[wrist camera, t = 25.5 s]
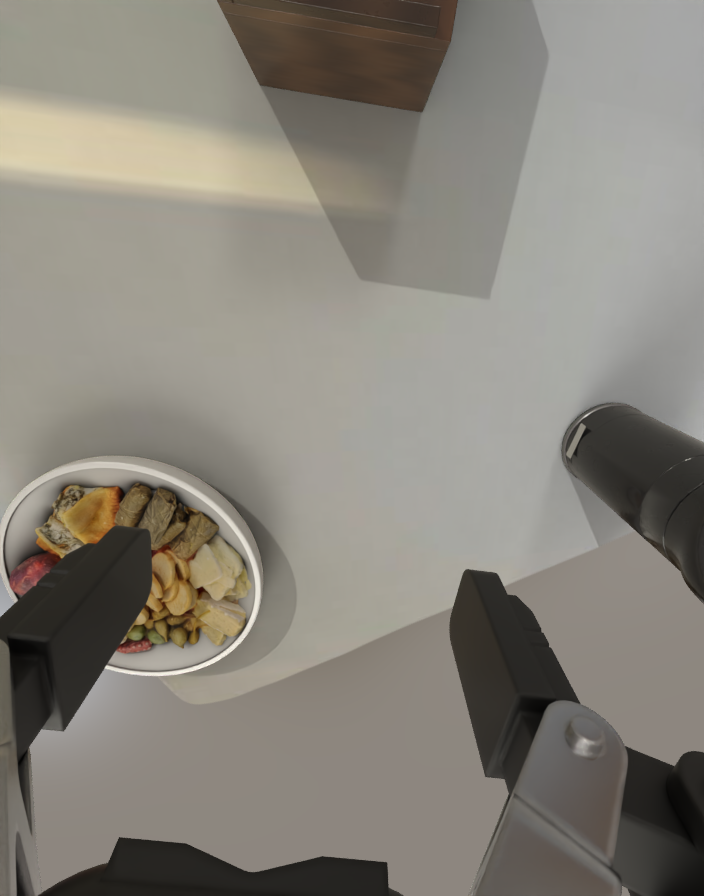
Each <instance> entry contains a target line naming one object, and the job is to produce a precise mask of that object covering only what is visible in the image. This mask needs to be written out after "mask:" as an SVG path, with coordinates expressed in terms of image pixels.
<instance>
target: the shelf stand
mask: <svg viewBox="0 0 704 896" xmlns="http://www.w3.org/2000/svg"><path fill="white" fill-rule="evenodd" d="M217 2H218V4H219V6H220V8H221V9H222V11H223V13H224V15H225V17H226V19H227V21H228V23H229V25H230V27H231V29H232V31H233V33H234V35H235V37H236V39H237V41H238V43H239V45H240V47H241V49H242V51H243V53H244V55H245V57H246V59H247V61H248V63H249V65H250V67H251V69H252V71H253V73H254V75H255V77H256V79H257V81H258V82H259V84H260V85H262V86H268V87H274V88H280V89H286V90H292V91H298V92H304V93H310V94H316V95H322V96H328V97H334V98H340V99H346V100H352V101H358V102H364V103H369V104H375V105H381V106H387V107H393V108H399V109H405V110H411V111H417V112H423V109H424V107H425V104H426V102H427V99H428V97H429V94H430V92H431V89H432V87H433V84H434V82H435V79H436V77H437V74H438V72H439V69H440V67H441V64H442V62H443V59H444V57H445V54H446V52H447V49H448V47H449V44H450V42H451V36H452V31H453V25H454V19H455V14H456V8H457V2H458V0H217Z"/></svg>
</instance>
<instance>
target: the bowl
mask: <svg viewBox="0 0 704 896" xmlns="http://www.w3.org/2000/svg"><path fill="white" fill-rule="evenodd" d="M116 525H119V526H127V527H136V528H144V529H148V530H149V531H150V534H151V552H152V577H153V580H152V588H151V592H150V595H149V598H148V600H147V603H146V604H145V606H144V608H143V609H142V611H141V612H140V614H139V616H138V617H137V619H136V620H135V622H134V623H133V625H132V626H131V628H130V629H129V631H128V633H127V634H126V636H125V637H124V639H123V640H122V642H121V643H120V645H119V647H118V648H117V650H116V651H115V653H114V654H113V656H112V657H111V659H110V661H109V662H108V664H107V665H106V667H105V668H106V669H110V670H113V671H117V672H122V673H127V674H133V675H143V676H167V675H176V674H182V673H187V672H191V671H195V670H198V669H201V668H203V667H206V666H208V665H211V664H213V663H215V662H217V661H218V660H220V659H222V658H223V657H225V656H226V655H228V654H229V653H230V652H232V651H233V650H234V649H235V648H236V647H237V646H238V645H239V644H240V643H241V642H242V641H243V640H244V639H245V637H246V636H247V634H248V633H249V631H250V630H251V628H252V626H253V624H254V622H255V620H256V617H257V615H258V611H259V608H260V604H261V600H262V595H263V583H264V578H263V566H262V561H261V556H260V553H259V549H258V546H257V544H256V541H255V539H254V537H253V535H252V533H251V531H250V529H249V527H248V526H247V524H246V522H245V521H244V519H243V518H242V517H241V515H240V514H239V513H238V511H237V510H236V509H235V508H234V507H233V506H232V505H231V503H230V502H229V501H228V500H227V499H226V498H224V497H223V496H222V495H221V494H220V493H219V492H218V491H216V490H215V489H214V488H213V487H211V486H210V485H208V484H207V483H205V482H204V481H202V480H201V479H199V478H197V477H196V476H194V475H192V474H190V473H188V472H186V471H184V470H182V469H179V468H177V467H174V466H172V465H169V464H166V463H163V462H159V461H156V460H151V459H147V458H141V457H133V456H98V457H91V458H86V459H81V460H77V461H74V462H70V463H67V464H65V465H62V466H60V467H57V468H55V469H53V470H51V471H49V472H47V473H45V474H44V475H42V476H40V477H39V478H37V479H36V480H34V481H32V482H31V483H30V484H29V485H27V486H26V487H25V488H24V489H23V490H22V491H20V493H19V494H18V495H17V496H16V497H15V498H14V499H13V501H12V502H11V503H10V505H9V507H8V508H7V510H6V512H5V514H4V516H3V518H2V521H1V524H0V573H1V576H2V579H3V581H4V584H5V586H6V589H7V591H8V593H9V595H10V596H11V598H12V600H13V601H14V603H16V602H17V601H18V600H19V599H20V598H21V597H22V596H23V595H24V594H25V593H26V592H27V591H28V590H29V589H30V588H32V587H33V586H36V584H37V582H38V581H39V580H40V579H41V578H42V577H43V576H44V575H45V574H46V573H49V572H50V569H51V568H52V567H53V566H55V565H56V564H57V563H58V562H59V561H60V560H61V559H62V558H63V557H64V556H65V555H66V554H68V553H70V552H72V551H74V550H76V549H77V548H79V547H81V546H83V545H85V544H87V543H94V544H96V543H97V542H98V541H99V540H100V539H101V538H102V537H103V536H104V535H105V534H106V533H107V532H108V531H109V530H110V529H111V528H112V527H114V526H116Z"/></svg>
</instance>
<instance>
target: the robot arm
mask: <svg viewBox="0 0 704 896" xmlns="http://www.w3.org/2000/svg"><path fill="white" fill-rule="evenodd" d="M562 458H563V462H564V464H565V466H566V467H567V469H568V470H569V471H570V472H571V473H572V474H573V475H574V476H575V477H576V478H578V479H579V480H581V481H582V482H583V483H584V484H585V485H586V486H587V487H588V488H589V489H590V490H592V491H593V492H594V493H595V494H596V495H597V496H598V497H599V498H600V499H601V500H603V501H604V502H605V503H606V504H607V505H608V506H609V507H610V508H611V509H612V510H614V511H615V512H616V513H617V514H618V515H619V516H620V517H621V518H622V519H623V520H625V521H626V522H627V523H628V524H629V525H630V526H631V527H632V528H633V529H634V530H636V531H637V532H638V533H639V534H640V535H641V536H642V537H643V538H644V539H646V540H647V541H648V542H649V543H650V544H651V545H652V546H653V547H655V548H656V549H657V550H658V551H659V552H660V553H661V554H662V555H663V556H664V557H665V558H667V559H668V560H669V561H670V562H671V563H672V564H673V565H674V566H675V567H676V568H677V569H679V570H680V571H681V573H682V576H683V578H684V580H685V582H686V584H687V585H688V587H689V588H690V590H691V591H692V592H693V593H694V594H695V595H696V596H697V597H698V598H699V600H700V601H701V602H702V603H704V442H702V441H700V440H697V439H695V438H693V437H691V436H689V435H687V434H685V433H683V432H681V431H679V430H677V429H675V428H672V427H670V426H668V425H666V424H664V423H662V422H660V421H658V420H656V419H654V418H652V417H650V416H648V415H646V414H644V413H642V412H640V411H639V410H637V409H636V408H633V407H631V406H629V405H626V404H622V403H606V404H601V405H598V406H595V407H593V408H591V409H589V410H587V411H585V412H584V413H583V414H581V415H580V416H579V417H578V418H577V419H576V420H575V421H574V422H573V423H572V424H571V425H570V427H569V428H568V430H567V432H566V434H565V436H564V439H563V442H562ZM152 580H153V577H152V552H151V534H150V531H149V530H148V529H144V528H136V527H127V526H119V525H116V526H114V527H112V528H111V529H110V530H109V531H108V532H107V533H106V534H105V535H104V536H103V537H102V538H101V539H100V540H99V541H98V542H97V543H96V544H94V543H87V544H85V545H83V546H81V547H79V548H77V549H76V550H74V551H72V552H70V553H68V554H66V555H65V556H64V557H63V558H62V559H61V560H60V561H59V562H58V563H57V564H56V565H55V566H53V567H52V568H51V569H50V572H49V573H46V574H45V575H44V576H43V577H42V578H41V579H40V580H39V581H38V582H37V584H36V586H33V587H32V588H30V589H29V590H28V591H27V592H26V593H25V594H24V595H23V596H22V597H21V598H20V599H19V600H18V601H17V602H16V603H15V604H14V605H13V606H12V607H11V608H10V609H8V610H7V612H5V613H4V614H3V615H2V616H1V617H0V896H403V895H401V894H400V893H399V892H397V891H394V890H392V889H390V888H388V869H387V862H376V861H366V860H355V859H345V858H334V857H323V856H322V857H318V858H314V859H310V860H306V861H302V862H297V863H293V864H289V865H285V866H280V867H276V868H272V869H268V870H264V871H260V872H247V871H244V870H242V869H239V868H237V867H235V866H233V865H231V864H229V863H227V862H225V861H222V860H220V859H218V858H216V857H214V856H212V855H210V854H207V853H205V852H203V851H201V850H199V849H196V848H194V847H192V846H190V845H188V844H185V843H174V842H163V841H151V840H141V839H131V838H120V837H119V839H118V841H117V844H116V846H115V848H114V850H113V853H112V856H111V858H110V860H109V862H108V863H106V864H102V865H98V866H95V867H92V868H90V869H87V870H84V871H81V872H79V873H77V874H75V875H73V876H71V877H69V878H67V879H65V880H63V881H61V882H59V883H57V884H55V885H54V886H52V887H51V888H49V889H47V890H46V891H44V892H42V887H41V879H40V872H39V865H38V857H37V846H36V832H35V816H34V801H33V785H32V770H31V754H30V749H29V746H30V745H31V743H32V742H33V740H34V739H35V737H36V736H37V735H38V733H39V732H40V730H41V729H46V730H55V731H64V730H65V729H66V727H67V726H68V724H69V723H70V721H71V719H72V718H73V716H74V715H75V713H76V712H77V710H78V709H79V707H80V706H81V704H82V702H83V701H84V699H85V698H86V696H87V695H88V693H89V691H90V690H91V688H92V687H93V685H94V684H95V682H96V681H97V679H98V678H99V676H100V674H101V673H102V671H103V670H104V668H105V667H106V665H107V664H108V662H109V661H110V659H111V657H112V656H113V654H114V653H115V651H116V650H117V648H118V647H119V645H120V643H121V642H122V640H123V639H124V637H125V636H126V634H127V633H128V631H129V629H130V628H131V626H132V625H133V623H134V622H135V620H136V619H137V617H138V616H139V614H140V612H141V611H142V609H143V608H144V606H145V604H146V603H147V600H148V598H149V595H150V592H151V588H152ZM450 640H451V645H452V649H453V653H454V656H455V661H456V664H457V668H458V672H459V676H460V680H461V684H462V687H463V692H464V696H465V699H466V703H467V707H468V711H469V715H470V719H471V723H472V727H473V731H474V734H475V738H476V742H477V746H478V750H479V754H480V758H481V762H482V766H483V769H484V773H485V777H491V778H501V779H505V782H506V785H507V789H508V792H509V795H508V797H507V799H506V802H505V804H504V807H503V809H502V812H501V814H500V817H499V819H498V822H497V824H496V827H495V829H494V832H493V834H492V837H491V839H490V842H489V844H488V847H487V850H486V852H485V855H484V857H483V860H482V862H481V864H480V867H479V869H478V872H477V875H476V877H475V879H474V882H473V884H472V887H471V890H470V892H469V894H468V896H621V893H622V886H624V887H626V888H628V891H629V893H630V896H704V753H703V752H697V751H691V752H687V753H685V754H683V755H682V756H681V757H680V759H679V761H678V762H677V764H676V765H675V766H672V765H670V764H667V763H665V762H662V761H660V760H658V759H655V758H653V757H650V756H648V755H645V754H643V753H640V752H638V751H635V750H632V749H631V748H628V747H626V746H625V745H624V743H623V741H622V740H621V738H620V736H619V735H618V733H617V732H616V731H615V730H614V728H613V727H612V726H611V725H610V724H609V723H608V722H607V721H606V720H605V719H604V718H602V717H601V716H600V715H599V714H597V713H596V712H594V711H593V710H591V709H589V708H587V707H586V706H583V705H581V704H580V702H579V700H578V698H577V696H576V694H575V692H574V691H573V689H572V687H571V685H570V683H569V681H568V679H567V677H566V676H565V673H564V671H563V670H562V668H561V666H560V664H559V662H558V660H557V658H556V656H555V654H554V652H553V650H552V649H551V648H549V643H548V641H547V639H546V637H545V635H544V633H542V632H541V628H540V626H539V624H538V622H537V620H536V618H535V616H534V614H533V613H532V611H531V610H530V609H529V608H528V607H527V606H526V605H525V604H524V603H523V602H522V601H521V600H520V599H519V598H518V597H517V596H513V595H507V593H506V590H505V588H504V586H503V584H502V582H501V580H500V578H499V576H498V574H497V573H493V572H485V571H477V570H469V569H467V570H465V571H464V573H463V575H462V579H461V582H460V586H459V589H458V592H457V596H456V599H455V603H454V606H453V610H452V613H451V618H450Z"/></svg>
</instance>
